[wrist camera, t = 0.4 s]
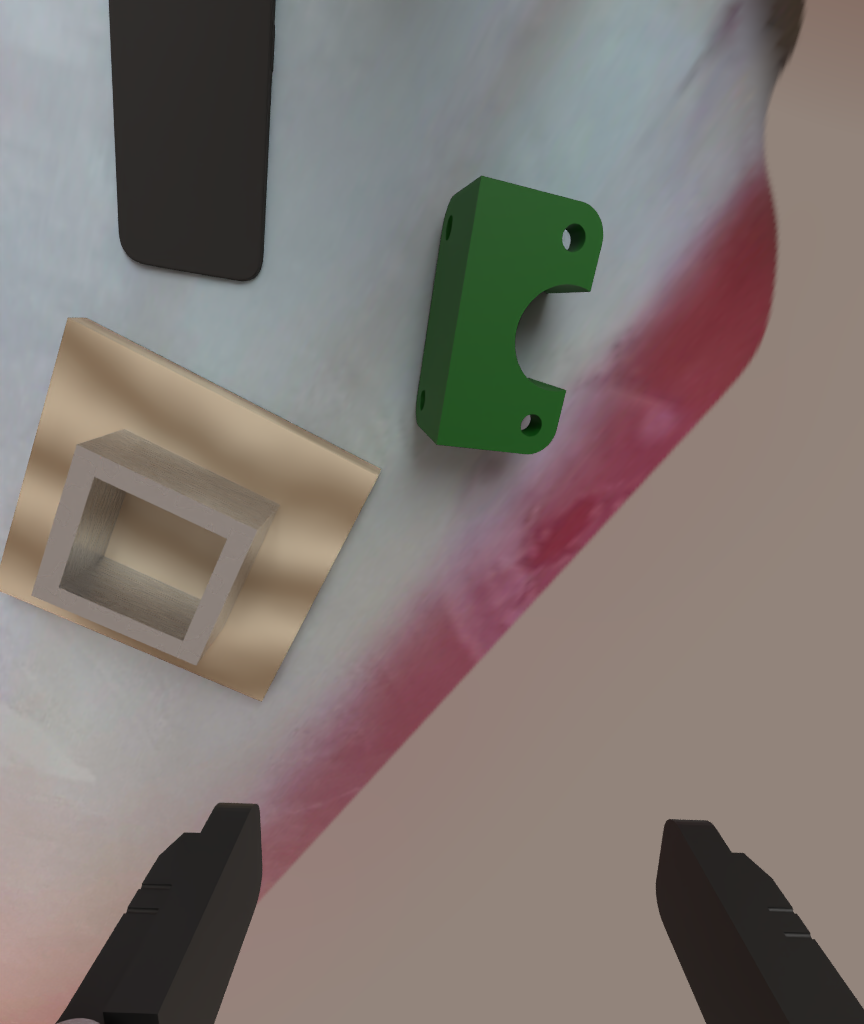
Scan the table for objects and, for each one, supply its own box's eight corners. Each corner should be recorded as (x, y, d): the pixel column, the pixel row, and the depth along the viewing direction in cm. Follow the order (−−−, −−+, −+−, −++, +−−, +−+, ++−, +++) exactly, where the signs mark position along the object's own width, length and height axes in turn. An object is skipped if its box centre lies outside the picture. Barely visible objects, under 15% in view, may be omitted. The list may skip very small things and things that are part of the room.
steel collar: (124, 428, 29) (76, 444, 25) (279, 504, 30) (257, 530, 27) (79, 563, 32) (31, 595, 28) (224, 627, 33) (196, 665, 29)
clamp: (496, 390, 34) (537, 482, 27) (407, 377, 32) (427, 472, 26) (574, 181, 26) (655, 243, 19) (460, 150, 24) (508, 207, 18)
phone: (118, 259, 27) (100, -130, 22) (127, 261, 28) (112, -114, 23) (260, 284, 27) (277, -93, 22) (265, 285, 28) (282, -79, 23)
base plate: (86, 317, 28) (67, 317, 27) (381, 469, 31) (378, 476, 30) (12, 577, 34) (-7, 588, 32) (268, 687, 36) (261, 701, 35)
